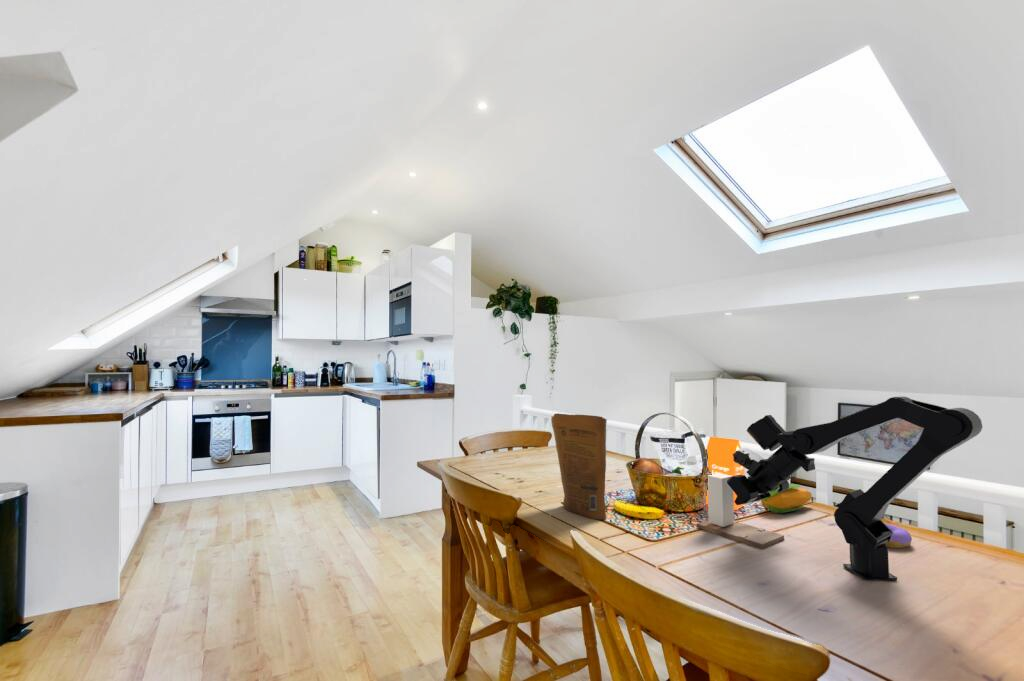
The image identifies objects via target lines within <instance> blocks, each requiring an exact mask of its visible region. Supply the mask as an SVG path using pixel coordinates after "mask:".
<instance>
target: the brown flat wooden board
mask: <svg viewBox="0 0 1024 681" xmlns="http://www.w3.org/2000/svg"><path fill="white" fill-rule="evenodd" d="M697 527H699V528H698V529H700V528H701V530H704V531H707V532H709V533H713V534H716V535H719V536H722V537H725V538H727V539H731V540H734V541H738V542H740V543H743V544H747V545H750V546H753V547H756V548H758V549H761V550H762V549H765V548H768V547H770V546H772V545H774V544H777V543H779V542H782V541H784V540H785V535H784V534H781V533H777V532H774V531H770V530H766V528H763V527H761V528H760V527H757V526H754V525H750V524H747V523H743V522H739V520H735V519H734V523H733V524H730V525H727V526H724V527H722V526H718V525H715V524H712V523H709V519H707V520H703V521H700V522H697V523H696V528H697Z"/></svg>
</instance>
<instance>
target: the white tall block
mask: <svg viewBox="0 0 1024 681" xmlns="http://www.w3.org/2000/svg"><path fill="white" fill-rule="evenodd" d="M730 477H732V476H731V475H726V474H721V473H717V474H712V475H708V505H707V507H708V510H707V511H708V514H707V515H708V520H709V523H712V524H715V525H718V526H722V527H724V526H727V525H730V524H733V523H734V520H735V511H734V491H733V490H732V489H731V487H730V486H729V485H728V484H727V480H728V479H729V478H730Z"/></svg>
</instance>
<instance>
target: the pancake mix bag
mask: <svg viewBox="0 0 1024 681" xmlns="http://www.w3.org/2000/svg"><path fill="white" fill-rule="evenodd" d="M550 421H551V427H552V430H553V436H554V442H555V449H556V453H557V460H558V466H559V470H560V479H561V483H562V484H561V485H562V488H563V494H564V497H563V507H562V508H563V510H565V511H567V512H570V513H574V514H575V515H580V516H583V517H586V518H588V519H592V520H607V512H606V501H605V500H606V498H605V496H606V495H605V492H606V471H607V458H606V457H607V421H608V419H606V418H605V417H603V416H600V415H588V414H569V413H568V414H567V413H554V415H553V416H551V420H550Z"/></svg>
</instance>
